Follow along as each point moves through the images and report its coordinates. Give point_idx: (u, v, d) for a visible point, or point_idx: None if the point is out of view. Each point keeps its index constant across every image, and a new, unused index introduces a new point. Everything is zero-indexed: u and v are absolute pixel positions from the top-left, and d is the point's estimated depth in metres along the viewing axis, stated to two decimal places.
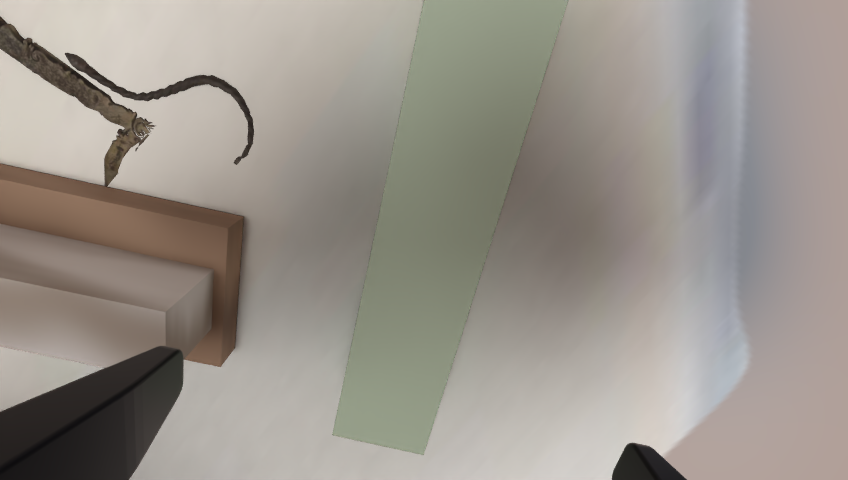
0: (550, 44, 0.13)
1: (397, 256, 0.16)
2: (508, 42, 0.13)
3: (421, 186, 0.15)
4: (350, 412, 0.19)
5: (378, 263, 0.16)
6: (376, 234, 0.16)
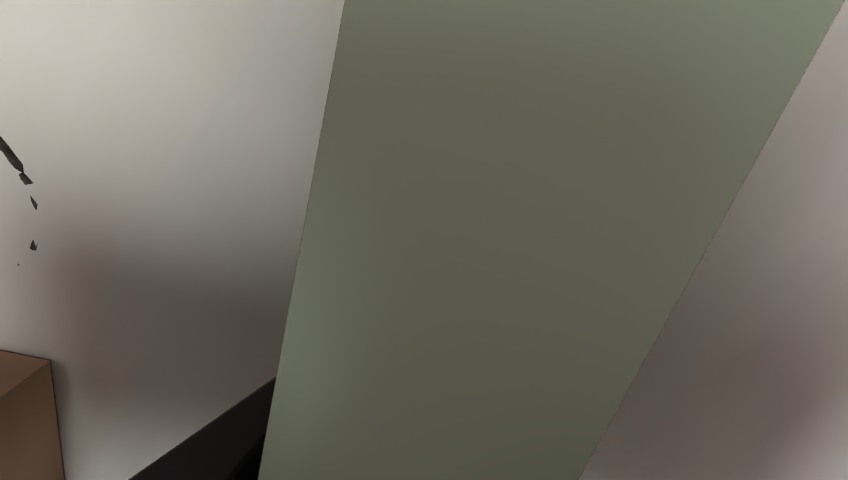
0: (824, 14, 0.04)
1: None
2: (673, 6, 0.04)
3: (372, 402, 0.05)
4: None
5: None
6: None
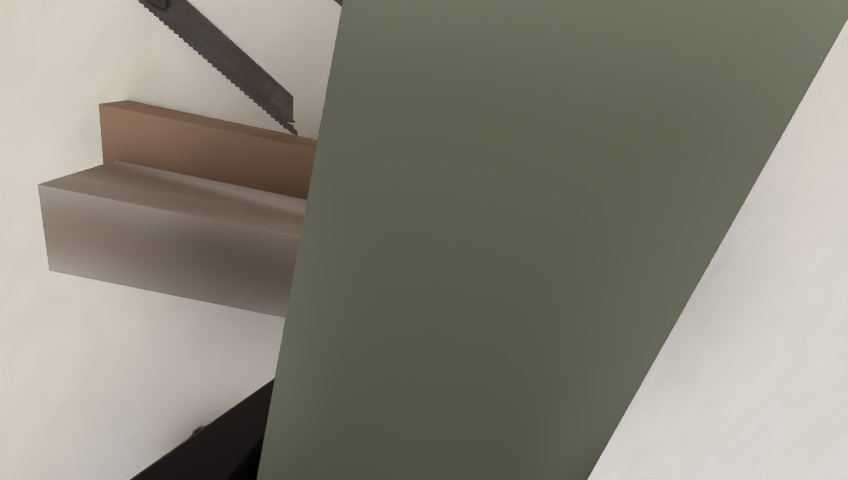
0: (842, 7, 0.04)
1: None
2: None
3: (373, 407, 0.05)
4: None
5: None
6: None
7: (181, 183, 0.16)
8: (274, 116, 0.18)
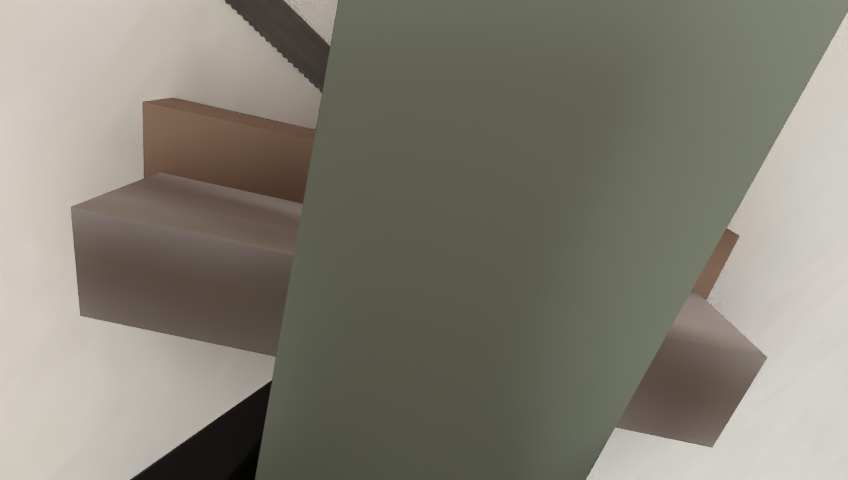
0: (839, 3, 0.04)
1: None
2: None
3: (371, 406, 0.05)
4: None
5: None
6: None
7: (245, 203, 0.13)
8: None
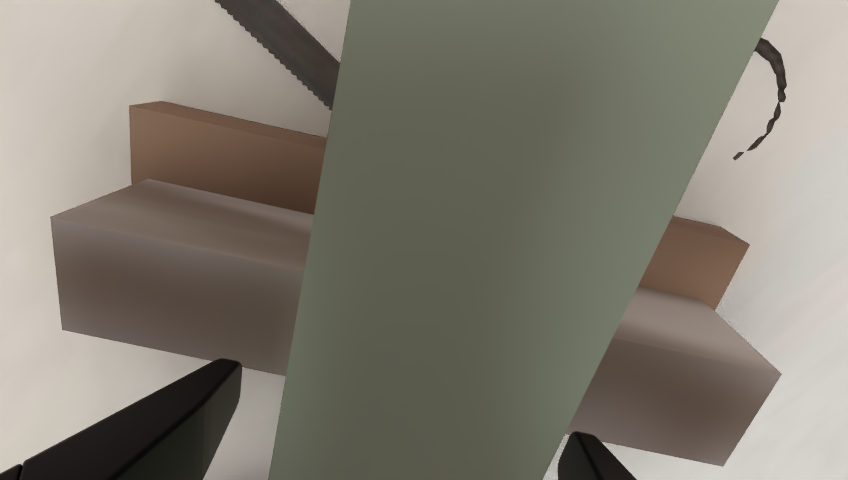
0: (763, 10, 0.04)
1: None
2: (634, 4, 0.04)
3: (378, 364, 0.06)
4: None
5: None
6: (277, 454, 0.07)
7: (236, 211, 0.12)
8: None
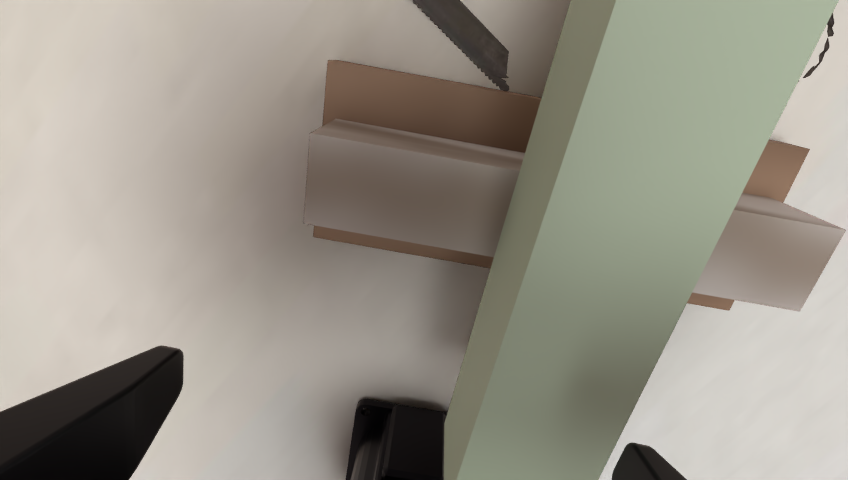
0: None
1: (563, 281, 0.11)
2: None
3: (614, 177, 0.10)
4: None
5: (534, 292, 0.11)
6: (535, 250, 0.11)
7: (413, 137, 0.16)
8: (485, 70, 0.18)
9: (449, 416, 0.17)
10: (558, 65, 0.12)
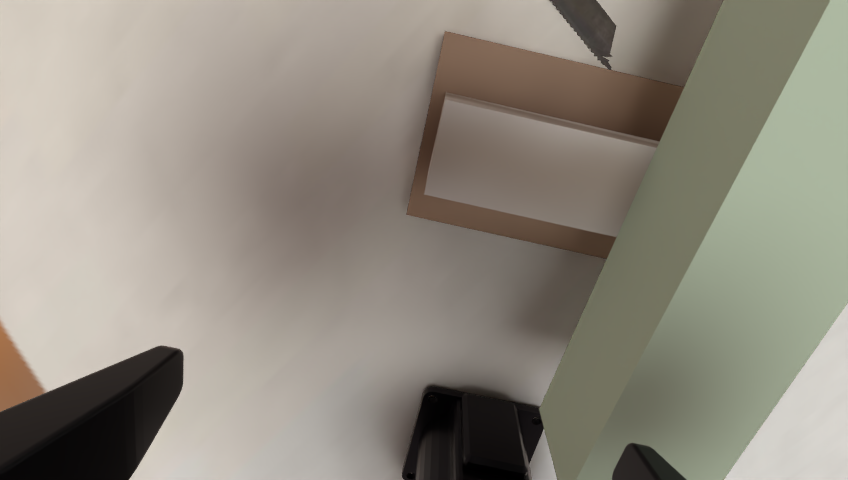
0: None
1: (739, 254, 0.11)
2: None
3: (813, 145, 0.10)
4: (598, 473, 0.13)
5: (706, 265, 0.11)
6: (716, 220, 0.10)
7: (530, 113, 0.16)
8: (594, 51, 0.17)
9: (550, 401, 0.17)
10: (724, 36, 0.12)
